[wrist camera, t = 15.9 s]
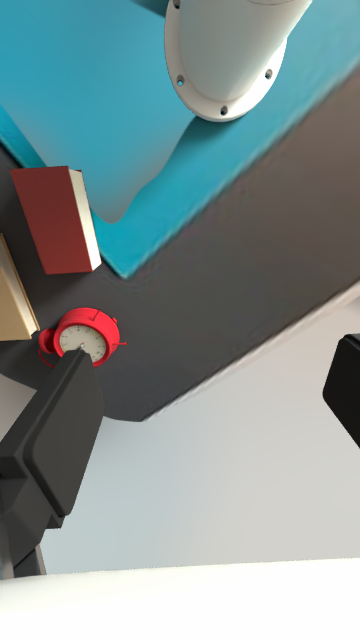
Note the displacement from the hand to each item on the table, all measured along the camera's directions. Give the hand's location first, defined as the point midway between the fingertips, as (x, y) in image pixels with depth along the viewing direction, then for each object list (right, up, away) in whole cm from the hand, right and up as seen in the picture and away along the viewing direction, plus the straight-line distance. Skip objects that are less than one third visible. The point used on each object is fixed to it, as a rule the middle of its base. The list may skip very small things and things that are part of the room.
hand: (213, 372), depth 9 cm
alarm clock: (-19, -1, +32) cm, 37 cm away
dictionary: (-17, +16, +23) cm, 33 cm away
